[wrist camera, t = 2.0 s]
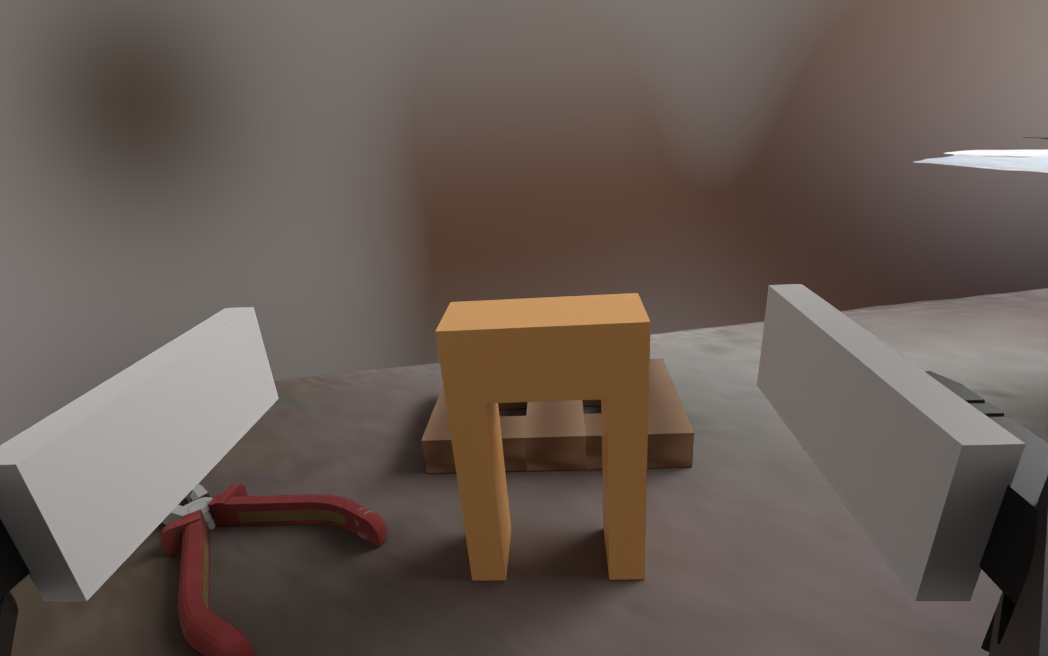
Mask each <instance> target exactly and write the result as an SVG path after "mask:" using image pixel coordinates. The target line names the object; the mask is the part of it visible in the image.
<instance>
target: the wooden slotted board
mask: <svg viewBox="0 0 1048 656" xmlns="http://www.w3.org/2000/svg"><path fill="white" fill-rule="evenodd" d="M583 406H601V399H600V400H571V401H541V402H512V403H498V408H499V409H521V408H527V413H526V416H500V427H501V436H502V446H503V456H504V465H505V471H547V470H589V469H602V413H595V414H584V413H583ZM693 441H694V432H693V429H692V427H691V425H690V422H689V420H688V417H687V415H686V413H685V410H684V408H683V406H682V403H681V401H680V399H679V396H678V394H677V391H676V389H675V387H674V384H673V382H672V380H671V377H670V375H669V372H668V370H667V368H666V365H665V363H664V361H663V359H649V403H648V446H647V468H674V467H692V457H693ZM421 443H422V449H423V455H424V460H425V466H426V472H427V473H456V467H455V461H454V454H453V447H452V440H451V434H450V427H449V420H448V413H447V407H446V400H445V393H444V386H443V387H442V389H441V392H440V394H439V397H438V399H437V402H436V404H435V407H434V409H433V412H432V414H431V417H430V420H429V422H428V425H427V427H426V430H425V432H424V435H423V437H422V440H421Z"/></svg>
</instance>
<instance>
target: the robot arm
mask: <svg viewBox="0 0 1048 656" xmlns="http://www.w3.org/2000/svg"><path fill="white" fill-rule="evenodd" d="M757 385H758V387H759V388H760V390H761V391H762V392H763V394H764V395H765V396H766V398H767V399H768V401H769V402H770V403H771V405H772V406H773V407H774V409H775V410H776V411H777V413H778V414H779V416H780V417H781V418H782V420H783V421H784V422H785V424H786V425H787V426H788V428H789V429H790V431H791V432H792V433H793V435H794V436H795V437H796V439H797V440H798V441H799V443H800V444H801V446H802V447H803V448H804V450H805V451H806V452H807V454H808V455H809V456H810V458H811V459H812V461H813V462H814V463H815V465H816V466H817V467H818V469H819V470H820V471H821V473H822V474H823V476H824V477H825V478H826V480H827V481H828V482H829V484H830V485H831V486H832V488H833V489H834V491H835V492H836V493H837V495H838V496H839V497H840V499H841V500H842V501H843V503H844V504H845V506H846V507H847V508H848V510H849V511H850V512H851V514H852V515H853V517H854V518H855V519H856V521H857V522H858V523H859V525H860V526H861V527H862V529H863V530H864V532H865V533H866V534H867V536H868V537H869V538H870V540H871V541H872V542H873V544H874V545H875V547H876V548H877V549H878V551H879V552H880V553H881V555H882V556H883V557H884V559H885V560H886V562H887V563H888V564H889V566H890V567H891V568H892V570H893V571H894V572H895V574H896V575H897V577H898V578H899V579H900V581H901V582H902V583H903V585H904V586H905V587H906V589H907V590H908V592H909V593H910V594H911V596H912V597H913V598H914V600H915V601H970V599H971V596H972V594H973V591H974V588H975V585H976V582H977V580H978V577H979V574H980V571H981V569H982V570H983V571H984V572H985V573H986V574H987V575H988V576H989V577H990V578H991V579H992V581H993V582H994V583H995V584H996V585H997V586H998V587H999V588H1000V589H1001V590H1002V591H1003V592H1002V595H1001V597H1000V600H999V603H998V605H997V608H996V610H995V613H994V616H993V618H992V621H991V623H990V626H989V629H988V631H987V634H986V636H985V639H984V642H983V644H982V647H981V648H982V649H984V650H986V651H988V652H989V656H1048V443H1047V442H1046V441H1044V440H1043V439H1041V438H1040V437H1039V436H1037V435H1036V434H1034V433H1033V432H1031V431H1030V430H1028V429H1027V428H1025V427H1024V426H1022V425H1021V424H1019V423H1018V422H1016V421H1015V420H1013V419H1012V418H1011V417H1005V416H1004V413H1003V412H1002V411H1000V410H999V409H997V408H996V407H994V406H993V405H991V404H990V403H985V402H984V401H985V400H984V399H982V398H981V397H980V396H978V395H977V394H975V393H974V392H972V391H971V390H969V389H968V388H966V387H965V386H963V385H962V384H960V383H957V382H955V381H952V380H950V379H948V378H945V377H943V376H940V375H938V374H936V373H933V372H931V371H928V372H924V371H923V370H921V369H920V368H919V367H917V366H916V365H914V364H913V363H912V362H910V361H909V360H907V359H906V358H905V357H903V356H902V355H900V354H899V353H898V352H896V351H895V350H893V349H892V348H891V347H889V346H888V345H886V344H885V343H883V342H882V341H881V340H879V339H878V338H876V337H875V336H874V335H872V334H871V333H869V332H868V331H867V330H865V329H864V328H862V327H861V326H860V325H858V324H857V323H855V322H854V321H853V320H851V319H850V318H848V317H847V316H846V315H844V314H843V313H841V312H840V311H839V310H837V309H836V308H834V307H833V306H832V305H830V304H829V303H827V302H826V301H825V300H823V299H822V298H820V297H819V296H817V295H816V294H815V293H813V292H812V291H810V290H809V289H808V288H806V287H805V286H803V285H802V284H791V285H769V289H768V297H767V306H766V315H765V322H764V331H763V339H762V347H761V356H760V364H759V373H758V381H757ZM278 399H279V398H278V395H277V391H276V387H275V384H274V380H273V377H272V373H271V369H270V366H269V362H268V358H267V355H266V351H265V348H264V344H263V340H262V336H261V333H260V329H259V326H258V322H257V318H256V315H255V311H254V308H253V307H243V308H225V309H223V310H222V311H220V312H218V313H217V314H215V315H214V316H212V317H210V318H209V319H207V320H206V321H204V322H202V323H200V324H199V325H197V326H195V327H194V328H192V329H191V330H189V331H188V332H186V333H184V334H183V335H181V336H179V337H178V338H176V339H174V340H173V341H171V342H169V343H168V344H166V345H164V346H163V347H161V348H159V349H158V350H156V351H155V352H153V353H151V354H150V355H148V356H146V357H145V358H143V359H142V360H140V361H138V362H136V363H135V364H133V365H132V366H130V367H128V368H127V369H125V370H124V371H122V372H120V373H119V374H117V375H115V376H114V377H112V378H110V379H109V380H107V381H105V382H104V383H102V384H100V385H99V386H97V387H95V388H94V389H92V390H91V391H89V392H87V393H86V394H84V395H83V396H81V397H79V398H78V399H76V400H74V401H73V402H71V403H69V404H68V405H66V406H64V407H63V408H61V409H59V410H58V411H56V412H55V413H53V414H51V415H50V416H48V417H46V418H45V419H43V420H41V421H40V422H38V423H36V424H35V425H33V426H32V427H30V428H28V429H27V430H25V431H23V432H22V433H20V434H19V435H17V436H15V437H14V438H12V439H10V440H9V441H7V442H6V443H4V444H2V445H1V446H0V656H11V650H12V644H13V639H14V633H15V627H16V621H17V615H18V607H17V603H16V601H15V599H14V597H13V596H12V594H11V592H10V590H11V589H12V588H13V587H14V586H16V585H17V584H18V583H19V582H20V581H21V580H22V579H23V578H25V577H26V576H27V575H28V574H29V575H30V577H31V579H32V581H33V582H34V584H35V586H36V588H37V589H38V591H39V593H40V595H41V597H42V598H43V600H44V601H87V600H88V599H89V598H90V597H91V596H92V595H93V594H94V593H95V592H96V591H97V590H98V589H99V588H100V587H101V586H102V585H103V583H104V582H105V581H106V580H107V579H108V578H109V577H110V576H111V575H112V574H113V573H114V572H115V571H116V570H117V569H118V568H119V567H120V566H121V564H122V563H123V562H124V561H125V560H126V559H127V558H128V557H129V556H130V555H131V554H132V553H133V552H134V551H135V550H136V549H137V548H138V547H139V545H140V544H141V543H142V542H143V541H144V540H145V539H146V538H147V537H148V536H149V535H150V534H151V533H152V532H153V531H154V530H155V529H156V528H157V526H158V525H159V524H160V523H161V522H162V521H163V520H164V519H165V518H166V517H167V516H168V515H169V514H170V513H171V512H172V511H173V510H174V509H175V507H176V506H177V505H178V504H179V503H180V502H181V501H182V500H183V499H184V498H185V497H186V496H187V495H188V494H189V493H190V492H191V491H192V490H193V488H194V487H195V486H196V485H197V484H198V483H199V482H200V481H201V480H202V479H203V478H204V477H205V476H206V475H207V474H208V473H209V472H210V471H211V469H212V468H213V467H214V466H215V465H216V464H217V463H218V462H219V461H220V460H221V459H222V458H223V457H224V456H225V455H226V454H227V453H228V451H229V450H230V449H231V448H232V447H233V446H234V445H235V444H236V443H237V442H238V441H239V440H240V439H241V438H242V437H243V436H244V435H245V434H246V432H247V431H248V430H249V429H250V428H251V427H252V426H253V425H254V424H255V423H256V422H257V421H258V420H259V419H260V418H261V417H262V416H263V415H264V413H265V412H266V411H267V410H268V409H269V408H270V407H271V406H272V405H273V404H274V403H275V402H276V401H277V400H278Z"/></svg>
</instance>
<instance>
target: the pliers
mask: <svg viewBox="0 0 1048 656" xmlns="http://www.w3.org/2000/svg"><path fill="white" fill-rule="evenodd" d="M185 498H186V499H187V501H188V502H189V504H186V505H185V506H181V505H177V506H176V507H175V509H174V510H173V511H172V512H171V513H170V514H169V515H168V516H167V517H166V518H165V519H164V520H163V521H162V522H161V523H163V524H165V525H166V526H165V527H164V528H163V529H162V531H161V539H160V540H161V543H162V545H163V547H164V549H165V552H166V554H167V556H168V557H171V556H174V555H177V554H179V553H181V563H180V577H179V591H178V616H179V622H180V627H181V630H182V633H183V635H184V637H185V639H186V640H187V642H188V644H189V645H190V646H191V647H193V648H194V649H195V650H197V651H198V652H199V653H201V654H202V655H204V656H256V655H255V652H254V650H253V648H252V646H251V644H250V643H249V641H248V640H247V639H246V638H245V636H244V635H243V634H242V633H241V632H240V631H239V630H237V629H236V628H235V627H234V626H232V625H231V624H229V623H228V622H226V621H225V620H223V619H222V618H220V617H219V616H217V615H216V614H214V613H213V612H211V611H210V609H209V589H210V530H212V529H214V528H215V527H223V526H264V525H302V524H323V525H332V526H337V527H341V528H344V529H346V530H349V531H350V532H352V533H354V534H356V535H358V536H359V537H361V538H363V539H365V540H367V541H369V542H370V543H372V544H374V545H376V546H378V547H380V546H381V545H382V544H383V543H384V542H385V539H386V534H387V530H386V525H385V522H384V521H383V519H382V518H381V517H380V516H379V515H378V514H376V513H374V512H372V511H371V510H369V509H367V508H365V507H363V506H361V505H359V504H357V503H356V502H354V501H352V500H350V499H347V498H343V497H339V496H331V495H280V496H248V495H247V492H246V489H245V487H244V485H242V484H234V485H230V486H229V487H228V488H227V489H226V491H225V492H224V493H223V494H217V495H216V496H215V497H214V498H210V496H209V494H208V492H207V491H206V490H205V489H204V488H203V487H202V486H201V485H199V484H197V485H196V486H195V487H194V488H193V490H192V491H191V492H190V493H189V494H188V495H187V496H186V497H185Z"/></svg>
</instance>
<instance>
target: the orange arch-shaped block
mask: <svg viewBox="0 0 1048 656" xmlns="http://www.w3.org/2000/svg"><path fill="white" fill-rule="evenodd" d="M435 332H436V339H437V345H438V352H439V359H440V366H441V373H442V380H443V386H444V393H445V400H446V407H447V413H448V420H449V427H450V434H451V440H452V447H453V454H454V461H455V467H456V474H457V481H458V488H459V494H460V501H461V508H462V515H463V521H464V528H465V535H466V542H467V548H468V555H469V562H470V569H471V575H472V581H499V580H506V576H507V566H508V556H509V547H510V537H511V523H510V513H509V504H508V494H507V484H506V475H505V465H504V456H503V446H502V436H501V427H500V417H499V408H498V403H512V402H541V401H571V400H600V399H601V412H602V471H603V529H604V537H605V546H606V555H607V564H608V573H609V580H630V579H644V577H645V533H646V490H647V446H648V403H649V359H650V320H649V318H648V316H647V313H646V311H645V309H644V306H643V304H642V302H641V299H640V297H639V295H638V293H630V294H608V295H588V296H568V297H547V298H527V299H507V300H487V301H466V302H451V303H450V305H449V306H448V308H447V310H446V312H445V314H444V316H443V318H442V320H441V322H440V324H439V326H438V328H437V329H436V331H435Z"/></svg>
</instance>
